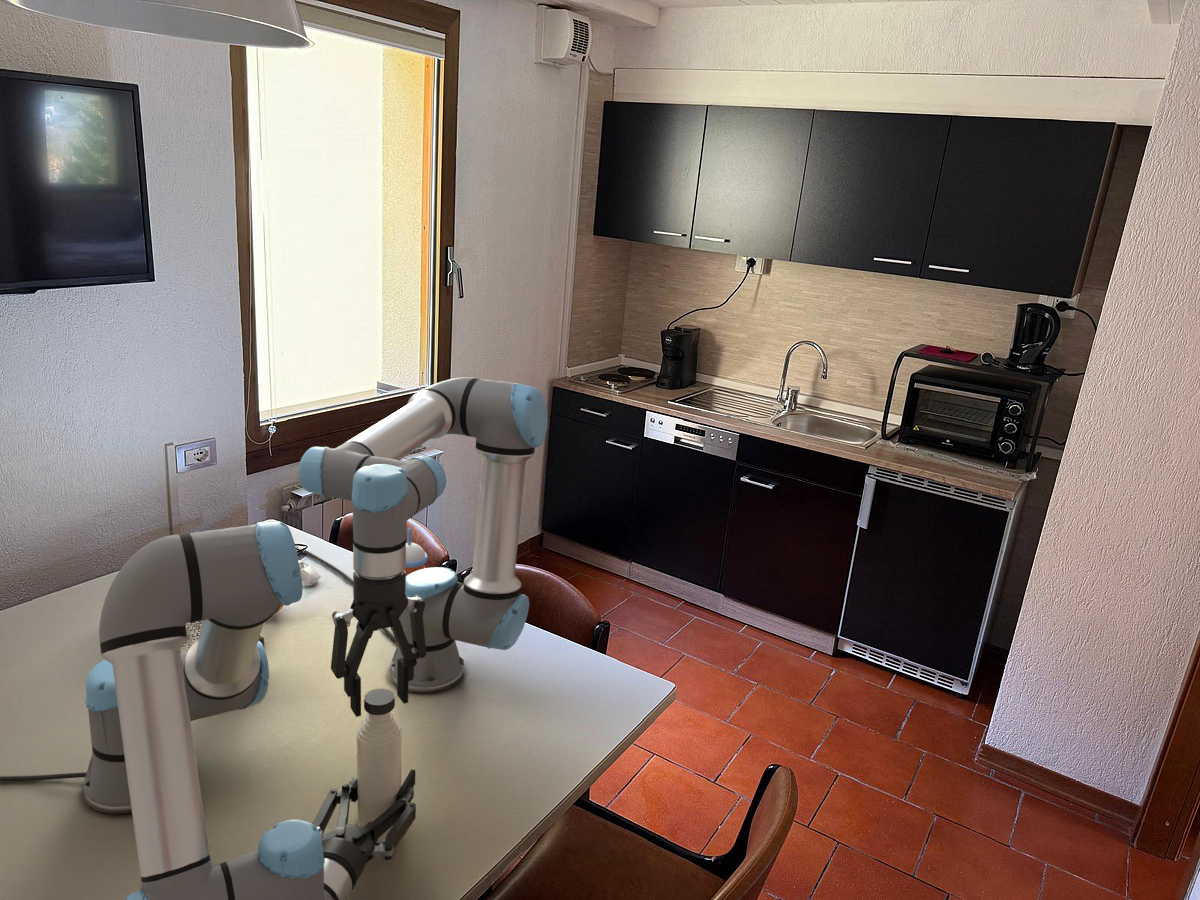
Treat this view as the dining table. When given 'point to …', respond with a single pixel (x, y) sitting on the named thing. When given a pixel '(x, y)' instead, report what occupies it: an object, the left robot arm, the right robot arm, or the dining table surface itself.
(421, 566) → the cup with straw
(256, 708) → the dining table surface
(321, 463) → the right robot arm
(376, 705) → the cap
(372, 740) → the bottle
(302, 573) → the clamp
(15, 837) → the dining table surface
